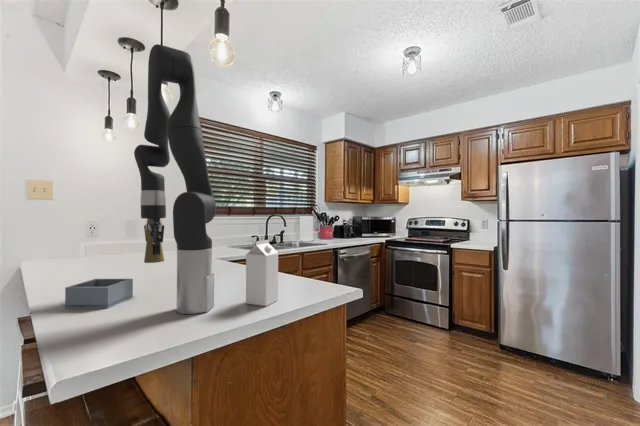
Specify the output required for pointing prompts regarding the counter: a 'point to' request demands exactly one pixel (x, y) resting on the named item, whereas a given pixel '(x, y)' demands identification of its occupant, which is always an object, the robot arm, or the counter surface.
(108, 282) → the crate
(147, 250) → the cork
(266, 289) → the milk carton
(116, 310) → the counter surface
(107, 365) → the counter surface
